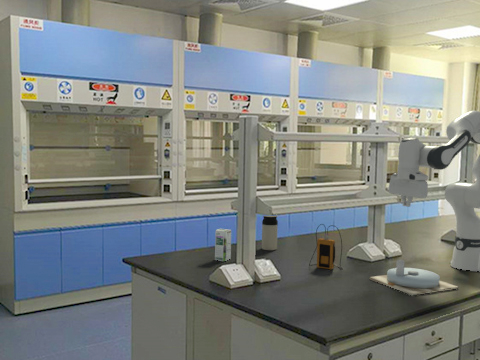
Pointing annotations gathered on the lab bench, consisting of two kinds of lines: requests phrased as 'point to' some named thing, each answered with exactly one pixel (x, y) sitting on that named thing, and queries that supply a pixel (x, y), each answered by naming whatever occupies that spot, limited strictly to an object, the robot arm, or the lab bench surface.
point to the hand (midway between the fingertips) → (406, 206)
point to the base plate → (411, 290)
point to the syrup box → (222, 244)
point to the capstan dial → (412, 276)
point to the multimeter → (326, 252)
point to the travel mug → (269, 233)
